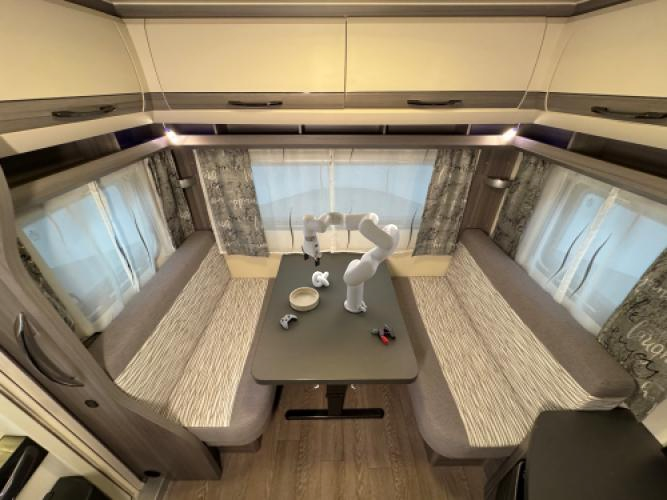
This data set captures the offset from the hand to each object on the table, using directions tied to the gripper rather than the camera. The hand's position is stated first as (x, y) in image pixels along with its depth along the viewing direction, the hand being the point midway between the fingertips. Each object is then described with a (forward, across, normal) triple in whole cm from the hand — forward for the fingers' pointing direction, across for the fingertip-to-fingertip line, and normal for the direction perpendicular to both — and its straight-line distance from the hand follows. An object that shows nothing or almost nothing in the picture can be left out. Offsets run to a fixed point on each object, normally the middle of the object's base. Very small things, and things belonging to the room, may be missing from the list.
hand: (311, 262), depth 152 cm
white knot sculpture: (+26, +6, -13) cm, 30 cm away
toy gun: (+26, -51, -4) cm, 58 cm away
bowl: (+26, +1, +7) cm, 27 cm away
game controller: (+26, -6, +25) cm, 37 cm away
